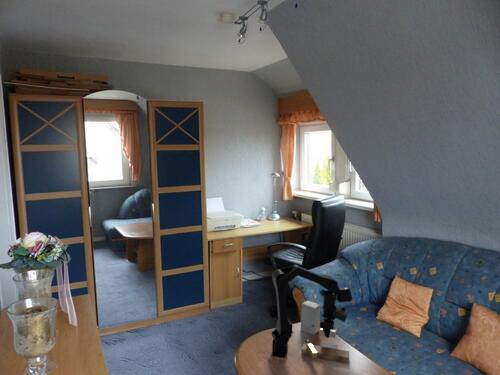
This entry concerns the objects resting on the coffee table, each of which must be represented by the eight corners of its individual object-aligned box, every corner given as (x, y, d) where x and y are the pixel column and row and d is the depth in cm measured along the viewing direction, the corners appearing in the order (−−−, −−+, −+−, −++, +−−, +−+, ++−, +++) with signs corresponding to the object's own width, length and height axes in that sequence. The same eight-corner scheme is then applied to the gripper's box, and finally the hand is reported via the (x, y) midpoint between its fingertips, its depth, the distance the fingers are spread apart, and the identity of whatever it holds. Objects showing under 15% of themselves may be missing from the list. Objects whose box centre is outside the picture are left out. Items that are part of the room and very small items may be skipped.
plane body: (301, 355, 171) (301, 349, 171) (303, 349, 176) (303, 343, 176) (348, 364, 164) (348, 357, 164) (348, 357, 170) (349, 351, 169)
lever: (304, 345, 173) (304, 339, 173) (309, 344, 174) (309, 338, 174) (312, 358, 163) (312, 351, 163) (317, 357, 163) (318, 351, 163)
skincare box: (300, 330, 194) (300, 303, 192) (306, 326, 199) (306, 299, 197) (314, 335, 189) (315, 307, 187) (320, 331, 194) (320, 303, 192)
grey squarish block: (320, 335, 175) (320, 328, 174) (322, 329, 181) (322, 322, 181) (335, 337, 173) (335, 330, 172) (336, 331, 179) (336, 324, 178)
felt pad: (318, 349, 176) (318, 349, 176) (320, 342, 182) (320, 341, 182) (335, 352, 173) (335, 352, 173) (337, 345, 180) (337, 344, 180)
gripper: (345, 314, 164) (344, 347, 165) (348, 297, 181) (347, 328, 183) (320, 310, 167) (319, 342, 169) (325, 294, 185) (324, 324, 187)
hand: (328, 334), depth 177 cm, fingers closed on grey squarish block, 6 cm apart
